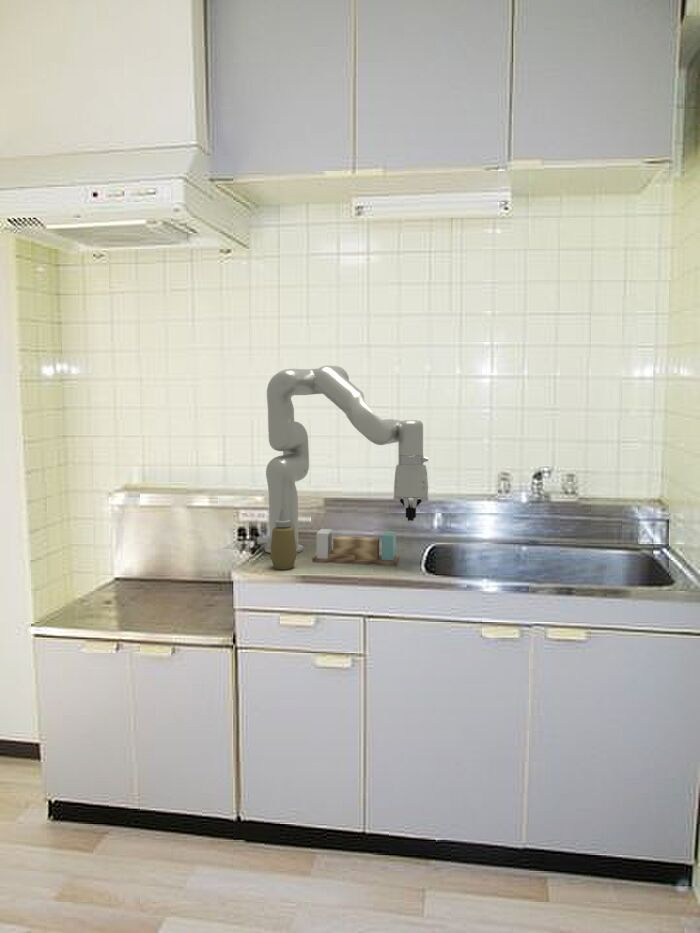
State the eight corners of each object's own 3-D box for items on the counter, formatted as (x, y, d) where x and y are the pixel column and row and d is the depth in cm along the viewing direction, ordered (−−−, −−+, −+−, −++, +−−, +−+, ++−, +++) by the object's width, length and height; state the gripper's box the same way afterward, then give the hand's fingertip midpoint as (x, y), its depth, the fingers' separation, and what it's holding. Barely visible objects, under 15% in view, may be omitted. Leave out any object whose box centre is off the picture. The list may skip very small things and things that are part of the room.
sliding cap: (381, 560, 227) (381, 535, 227) (384, 554, 234) (384, 531, 233) (393, 560, 227) (393, 536, 226) (395, 555, 234) (395, 531, 233)
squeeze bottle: (292, 571, 219) (292, 511, 217) (266, 570, 220) (265, 510, 218) (300, 565, 227) (299, 506, 225) (274, 563, 228) (274, 506, 226)
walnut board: (312, 561, 231) (312, 554, 230) (319, 555, 239) (319, 548, 239) (395, 565, 226) (395, 558, 226) (399, 558, 235) (399, 551, 234)
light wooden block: (333, 557, 232) (333, 538, 231) (335, 554, 236) (335, 536, 235) (377, 559, 229) (377, 540, 229) (379, 556, 233) (379, 537, 233)
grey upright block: (316, 558, 231) (316, 533, 230) (321, 553, 238) (321, 528, 237) (327, 558, 231) (327, 533, 230) (332, 553, 237) (332, 529, 237)
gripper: (436, 459, 228) (436, 518, 230) (388, 459, 231) (388, 517, 233) (434, 462, 221) (434, 523, 223) (384, 461, 224) (385, 521, 226)
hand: (410, 520), depth 228 cm, fingers closed
